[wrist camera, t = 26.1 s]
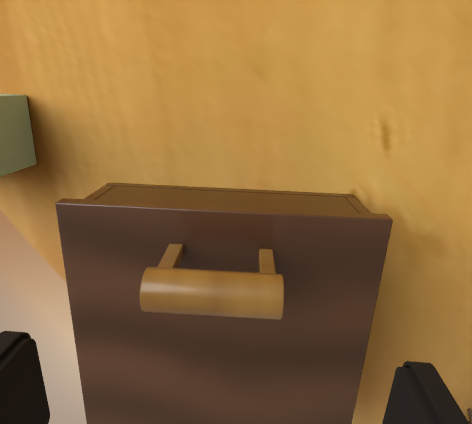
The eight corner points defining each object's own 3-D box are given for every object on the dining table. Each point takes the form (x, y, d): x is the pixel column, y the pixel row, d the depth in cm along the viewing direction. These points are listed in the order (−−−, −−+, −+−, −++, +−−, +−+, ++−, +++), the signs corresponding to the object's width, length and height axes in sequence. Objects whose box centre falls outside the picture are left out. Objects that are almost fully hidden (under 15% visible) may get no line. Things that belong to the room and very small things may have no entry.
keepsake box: (108, 182, 24) (65, 209, 18) (353, 194, 23) (383, 225, 18) (123, 364, 29) (94, 428, 23) (324, 377, 28) (341, 444, 23)
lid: (62, 197, 18) (-12, 241, 13) (387, 213, 17) (443, 265, 12) (93, 428, 23) (50, 524, 18) (341, 445, 23) (367, 547, 18)
